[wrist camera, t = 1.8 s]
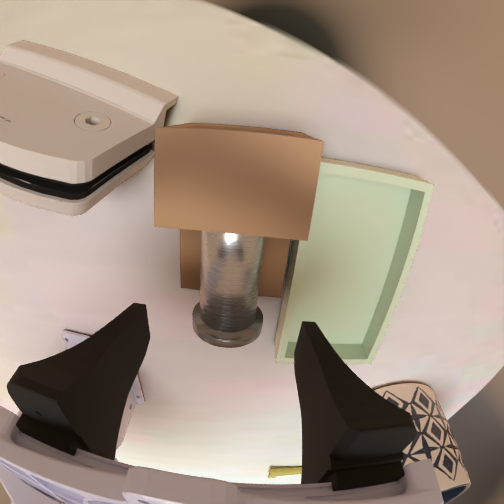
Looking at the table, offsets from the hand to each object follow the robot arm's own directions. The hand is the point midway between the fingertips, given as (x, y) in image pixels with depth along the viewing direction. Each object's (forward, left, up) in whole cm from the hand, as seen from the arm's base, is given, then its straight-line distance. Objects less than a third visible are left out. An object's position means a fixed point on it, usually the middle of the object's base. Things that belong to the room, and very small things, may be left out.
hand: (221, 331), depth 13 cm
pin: (+2, 0, -8) cm, 8 cm away
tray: (-1, -8, -9) cm, 12 cm away
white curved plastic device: (+10, +13, -9) cm, 19 cm away
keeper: (+2, 0, -9) cm, 9 cm away
